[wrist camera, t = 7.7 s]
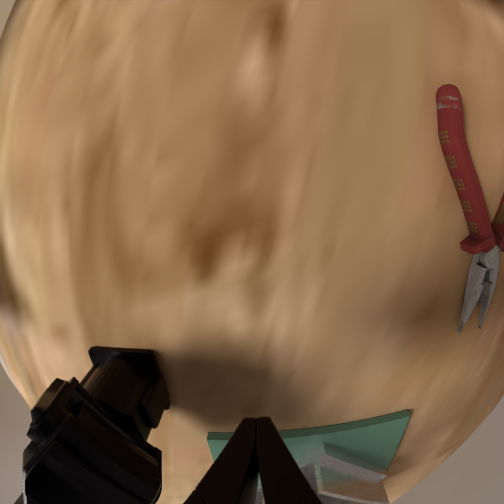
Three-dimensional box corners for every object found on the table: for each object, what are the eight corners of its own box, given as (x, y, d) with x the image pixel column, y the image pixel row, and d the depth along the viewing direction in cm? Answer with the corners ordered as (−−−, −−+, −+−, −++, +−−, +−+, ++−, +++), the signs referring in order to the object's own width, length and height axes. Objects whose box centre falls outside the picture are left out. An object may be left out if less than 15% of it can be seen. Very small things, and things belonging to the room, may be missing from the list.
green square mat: (234, 507, 29) (233, 512, 28) (208, 432, 24) (206, 439, 23) (370, 492, 28) (372, 497, 27) (406, 409, 23) (410, 415, 22)
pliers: (415, 332, 21) (428, 348, 19) (427, 85, 16) (445, 76, 13) (498, 316, 21) (513, 326, 18) (514, 115, 16) (532, 113, 13)
